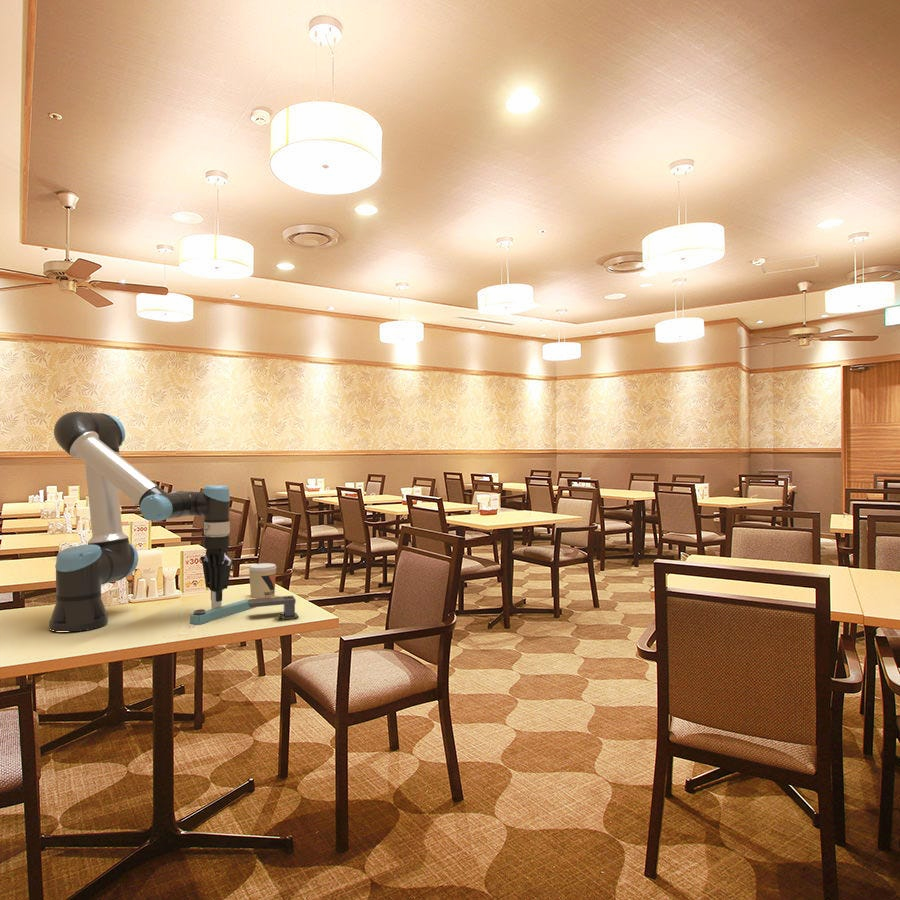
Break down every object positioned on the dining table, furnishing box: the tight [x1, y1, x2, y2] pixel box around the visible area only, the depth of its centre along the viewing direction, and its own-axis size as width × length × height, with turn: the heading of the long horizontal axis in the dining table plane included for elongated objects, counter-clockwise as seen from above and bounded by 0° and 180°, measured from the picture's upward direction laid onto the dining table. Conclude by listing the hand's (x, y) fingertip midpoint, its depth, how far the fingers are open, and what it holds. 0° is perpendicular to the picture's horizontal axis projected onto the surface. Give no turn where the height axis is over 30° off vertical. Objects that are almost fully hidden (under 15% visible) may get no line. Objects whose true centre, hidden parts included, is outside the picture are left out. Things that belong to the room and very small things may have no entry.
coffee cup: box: [248, 562, 278, 599], centre depth 225 cm, size 9×9×12 cm
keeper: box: [247, 595, 300, 621], centre depth 198 cm, size 14×6×6 cm, turn 113°
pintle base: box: [193, 608, 206, 616], centre depth 190 cm, size 10×10×5 cm
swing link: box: [189, 597, 256, 626], centre depth 198 cm, size 24×4×3 cm, turn 153°
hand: (216, 611), depth 198 cm, fingers closed
